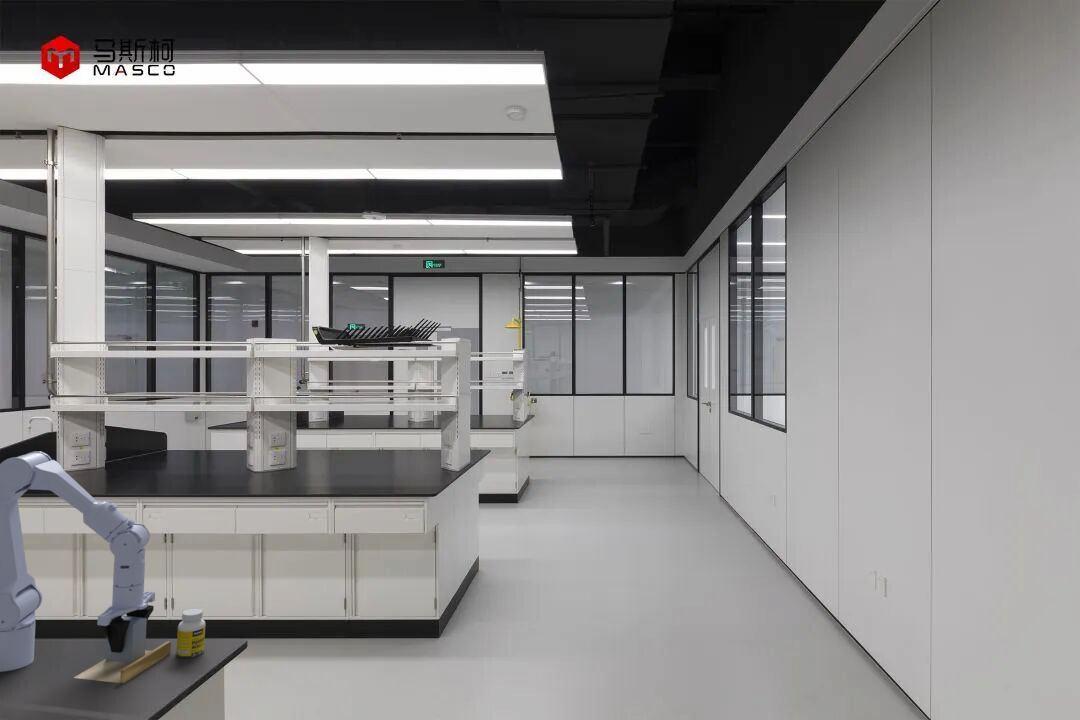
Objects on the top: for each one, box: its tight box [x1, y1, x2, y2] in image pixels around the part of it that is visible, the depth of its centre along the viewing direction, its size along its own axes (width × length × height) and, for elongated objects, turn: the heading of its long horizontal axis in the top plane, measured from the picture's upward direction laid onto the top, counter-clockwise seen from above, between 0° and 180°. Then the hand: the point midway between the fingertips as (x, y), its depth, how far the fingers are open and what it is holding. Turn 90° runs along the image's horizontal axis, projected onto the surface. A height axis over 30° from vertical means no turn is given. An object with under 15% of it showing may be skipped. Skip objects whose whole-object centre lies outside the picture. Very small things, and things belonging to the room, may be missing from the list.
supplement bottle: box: [175, 608, 206, 659], centre depth 148 cm, size 5×5×10 cm
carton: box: [105, 615, 148, 663], centre depth 144 cm, size 4×6×8 cm
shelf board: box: [73, 640, 172, 684], centre depth 141 cm, size 11×14×3 cm
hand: (126, 646), depth 144 cm, fingers open, 5 cm apart
